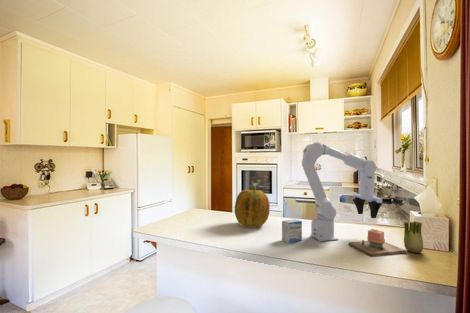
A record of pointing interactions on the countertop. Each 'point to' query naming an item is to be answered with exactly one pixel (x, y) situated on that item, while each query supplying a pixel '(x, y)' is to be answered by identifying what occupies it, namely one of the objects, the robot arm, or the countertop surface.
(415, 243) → the fennel bulb
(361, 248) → the board
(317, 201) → the robot arm
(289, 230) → the medicine box
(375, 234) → the lid
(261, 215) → the pumpkin
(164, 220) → the countertop surface
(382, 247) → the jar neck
